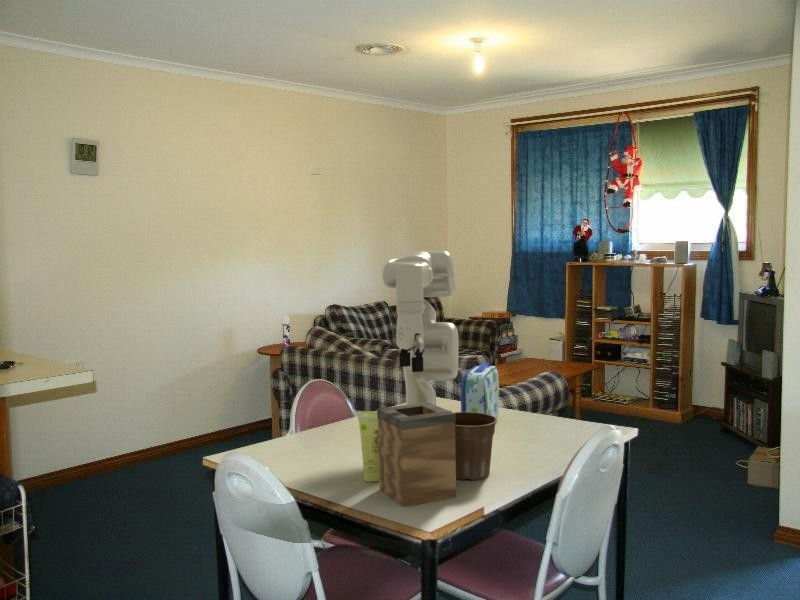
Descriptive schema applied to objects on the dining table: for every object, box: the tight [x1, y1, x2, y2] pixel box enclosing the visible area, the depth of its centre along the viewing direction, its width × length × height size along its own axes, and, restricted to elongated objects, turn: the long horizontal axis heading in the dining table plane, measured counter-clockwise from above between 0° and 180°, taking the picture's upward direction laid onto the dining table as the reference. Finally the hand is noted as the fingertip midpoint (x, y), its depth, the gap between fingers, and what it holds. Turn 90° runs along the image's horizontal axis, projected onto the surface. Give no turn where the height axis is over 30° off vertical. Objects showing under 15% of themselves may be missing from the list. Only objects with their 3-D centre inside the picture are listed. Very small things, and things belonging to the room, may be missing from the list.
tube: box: [356, 410, 379, 483], centre depth 206 cm, size 6×5×20 cm
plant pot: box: [454, 411, 498, 481], centre depth 209 cm, size 16×16×16 cm
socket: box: [376, 402, 457, 508], centre depth 194 cm, size 15×15×22 cm
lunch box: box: [459, 363, 500, 419], centre depth 265 cm, size 26×11×21 cm, turn 162°
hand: (411, 368), depth 206 cm, fingers open, 9 cm apart
